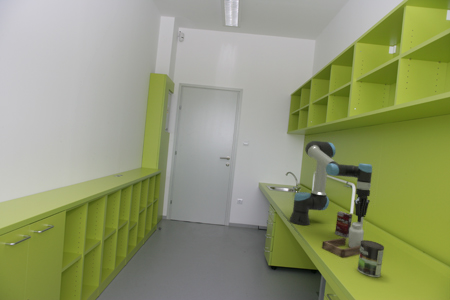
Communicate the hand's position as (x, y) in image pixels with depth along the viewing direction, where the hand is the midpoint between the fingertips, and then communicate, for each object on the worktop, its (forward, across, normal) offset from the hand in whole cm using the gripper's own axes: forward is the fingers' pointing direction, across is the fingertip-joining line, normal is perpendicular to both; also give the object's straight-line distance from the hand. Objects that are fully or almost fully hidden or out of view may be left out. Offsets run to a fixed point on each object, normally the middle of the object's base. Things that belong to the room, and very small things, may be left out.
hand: (359, 226), depth 166 cm
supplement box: (+13, +12, +19) cm, 26 cm away
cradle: (+13, -14, +1) cm, 19 cm away
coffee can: (+14, -26, -22) cm, 37 cm away
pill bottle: (+13, -1, +1) cm, 13 cm away
